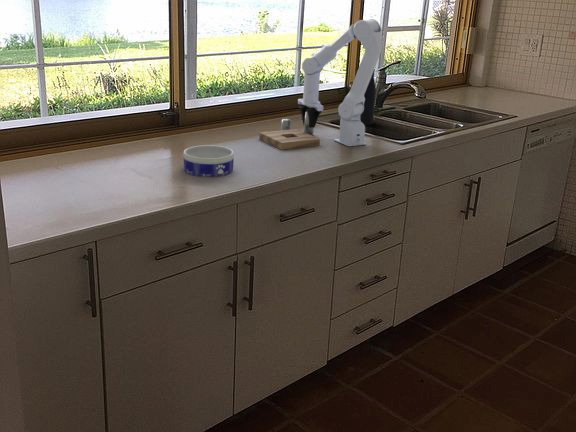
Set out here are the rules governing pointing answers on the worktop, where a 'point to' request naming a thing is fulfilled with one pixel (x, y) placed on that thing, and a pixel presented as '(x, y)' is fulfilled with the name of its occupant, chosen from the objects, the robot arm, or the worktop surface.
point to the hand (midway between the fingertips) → (309, 126)
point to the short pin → (286, 124)
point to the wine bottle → (369, 103)
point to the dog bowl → (208, 161)
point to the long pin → (307, 125)
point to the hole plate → (289, 139)
